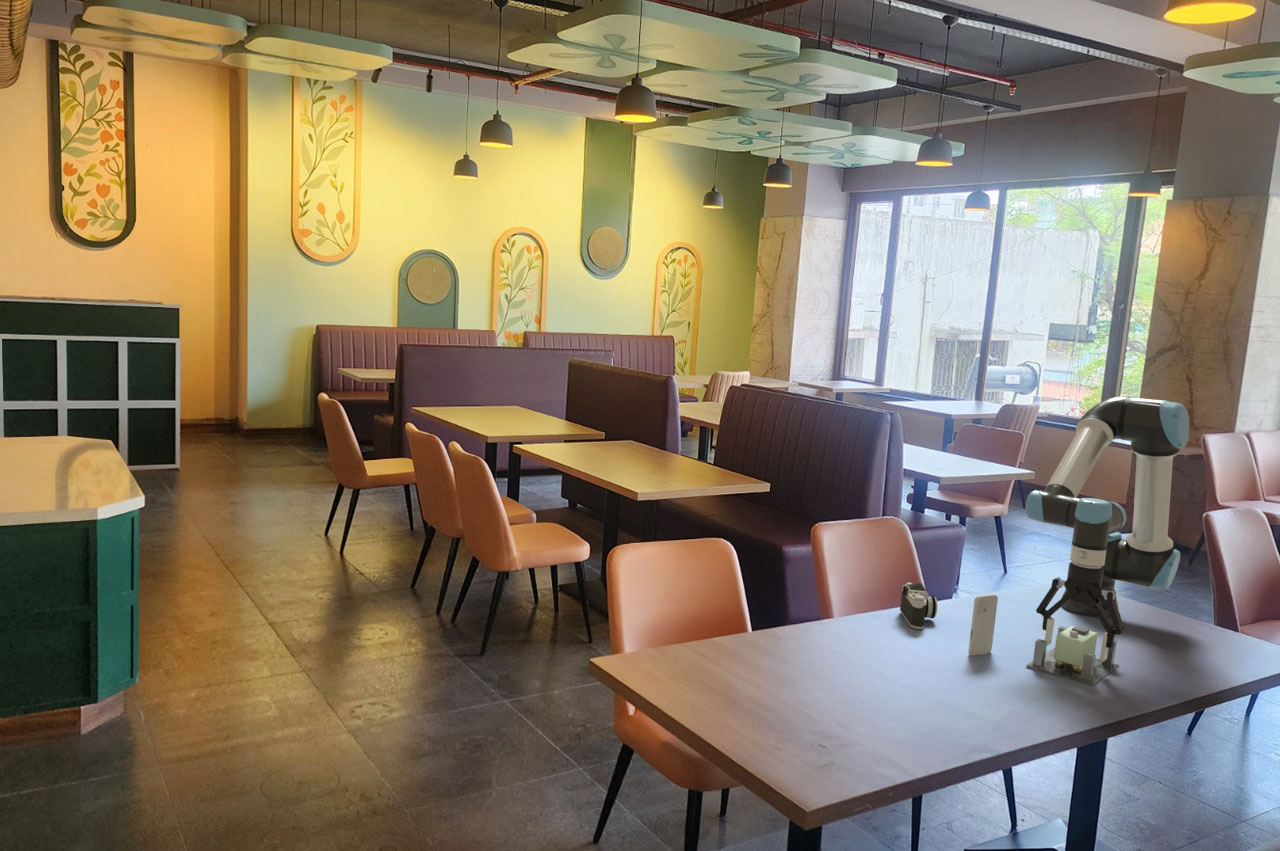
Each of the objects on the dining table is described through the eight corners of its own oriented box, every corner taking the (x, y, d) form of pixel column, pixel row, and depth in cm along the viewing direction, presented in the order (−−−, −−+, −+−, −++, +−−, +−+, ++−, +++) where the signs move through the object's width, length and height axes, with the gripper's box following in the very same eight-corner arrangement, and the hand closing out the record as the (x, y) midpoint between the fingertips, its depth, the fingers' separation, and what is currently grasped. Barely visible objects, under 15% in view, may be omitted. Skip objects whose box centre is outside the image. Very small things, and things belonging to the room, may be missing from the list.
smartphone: (989, 652, 243) (996, 593, 241) (992, 653, 242) (999, 595, 240) (967, 655, 239) (974, 596, 237) (971, 657, 238) (978, 597, 236)
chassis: (1055, 651, 246) (1058, 624, 245) (1118, 669, 236) (1122, 641, 235) (1026, 669, 232) (1029, 640, 231) (1091, 689, 222) (1096, 659, 221)
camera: (942, 631, 256) (946, 594, 255) (908, 628, 257) (912, 591, 255) (927, 611, 272) (931, 577, 271) (896, 609, 273) (900, 574, 271)
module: (1068, 649, 239) (1072, 622, 238) (1094, 656, 235) (1098, 628, 234) (1053, 658, 232) (1057, 630, 231) (1079, 666, 228) (1083, 637, 227)
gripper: (1028, 554, 236) (1018, 640, 239) (1137, 579, 220) (1124, 671, 223) (1040, 550, 242) (1030, 634, 245) (1147, 574, 225) (1134, 663, 228)
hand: (1075, 651), depth 234 cm, fingers open, 12 cm apart
